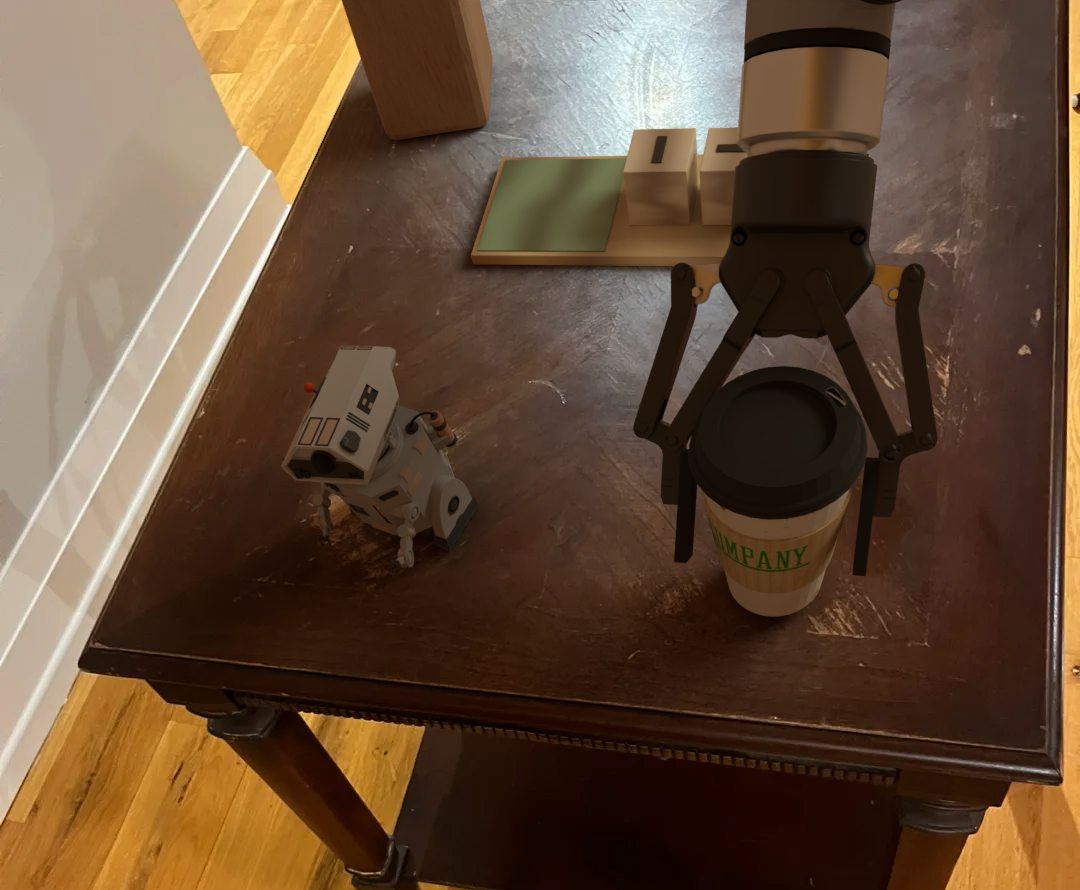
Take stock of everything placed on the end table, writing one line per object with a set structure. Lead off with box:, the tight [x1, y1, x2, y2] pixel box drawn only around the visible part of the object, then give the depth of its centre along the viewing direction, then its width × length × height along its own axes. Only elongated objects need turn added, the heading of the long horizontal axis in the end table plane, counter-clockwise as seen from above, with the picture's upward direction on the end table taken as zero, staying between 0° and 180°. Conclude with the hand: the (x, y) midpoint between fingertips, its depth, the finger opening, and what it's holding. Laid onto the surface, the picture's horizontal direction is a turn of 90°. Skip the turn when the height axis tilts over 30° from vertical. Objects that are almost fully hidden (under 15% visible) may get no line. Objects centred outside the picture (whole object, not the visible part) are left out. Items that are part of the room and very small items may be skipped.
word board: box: [470, 126, 747, 267], centre depth 89 cm, size 24×12×6 cm, turn 78°
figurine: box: [280, 345, 479, 579], centre depth 74 cm, size 9×12×15 cm
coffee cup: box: [688, 365, 869, 617], centre depth 66 cm, size 10×10×15 cm
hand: (769, 564), depth 66 cm, fingers closed on coffee cup, 10 cm apart
